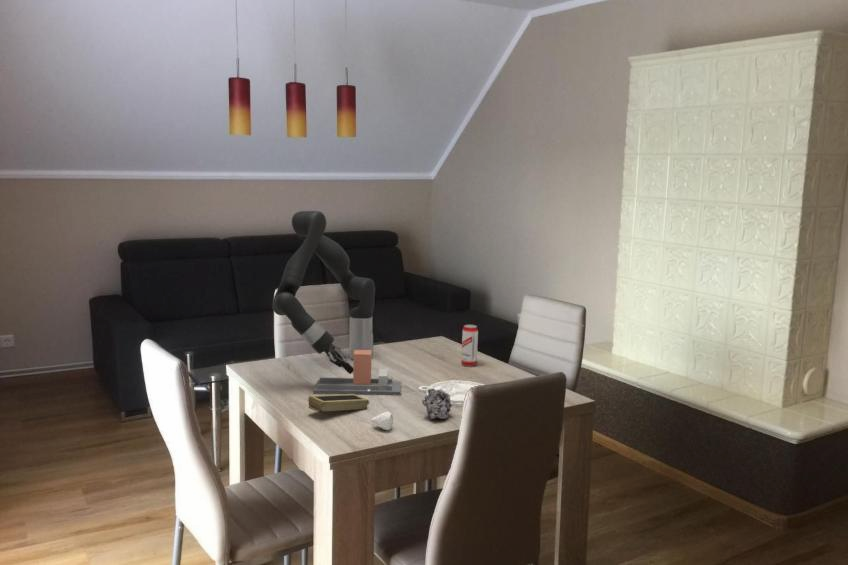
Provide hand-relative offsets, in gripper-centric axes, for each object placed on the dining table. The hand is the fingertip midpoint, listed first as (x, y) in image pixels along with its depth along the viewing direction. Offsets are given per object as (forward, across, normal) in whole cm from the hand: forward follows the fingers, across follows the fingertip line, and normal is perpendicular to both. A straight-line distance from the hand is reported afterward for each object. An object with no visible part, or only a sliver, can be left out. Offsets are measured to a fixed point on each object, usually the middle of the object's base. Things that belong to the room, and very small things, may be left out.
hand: (352, 371), depth 255 cm
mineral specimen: (+25, -26, -16) cm, 39 cm away
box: (+4, -22, +6) cm, 23 cm away
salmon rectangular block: (+6, 0, +1) cm, 6 cm away
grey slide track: (+6, 0, +3) cm, 7 cm away
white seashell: (+13, -38, -4) cm, 40 cm away
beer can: (+36, +33, -27) cm, 56 cm away
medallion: (+30, -5, -21) cm, 37 cm away
